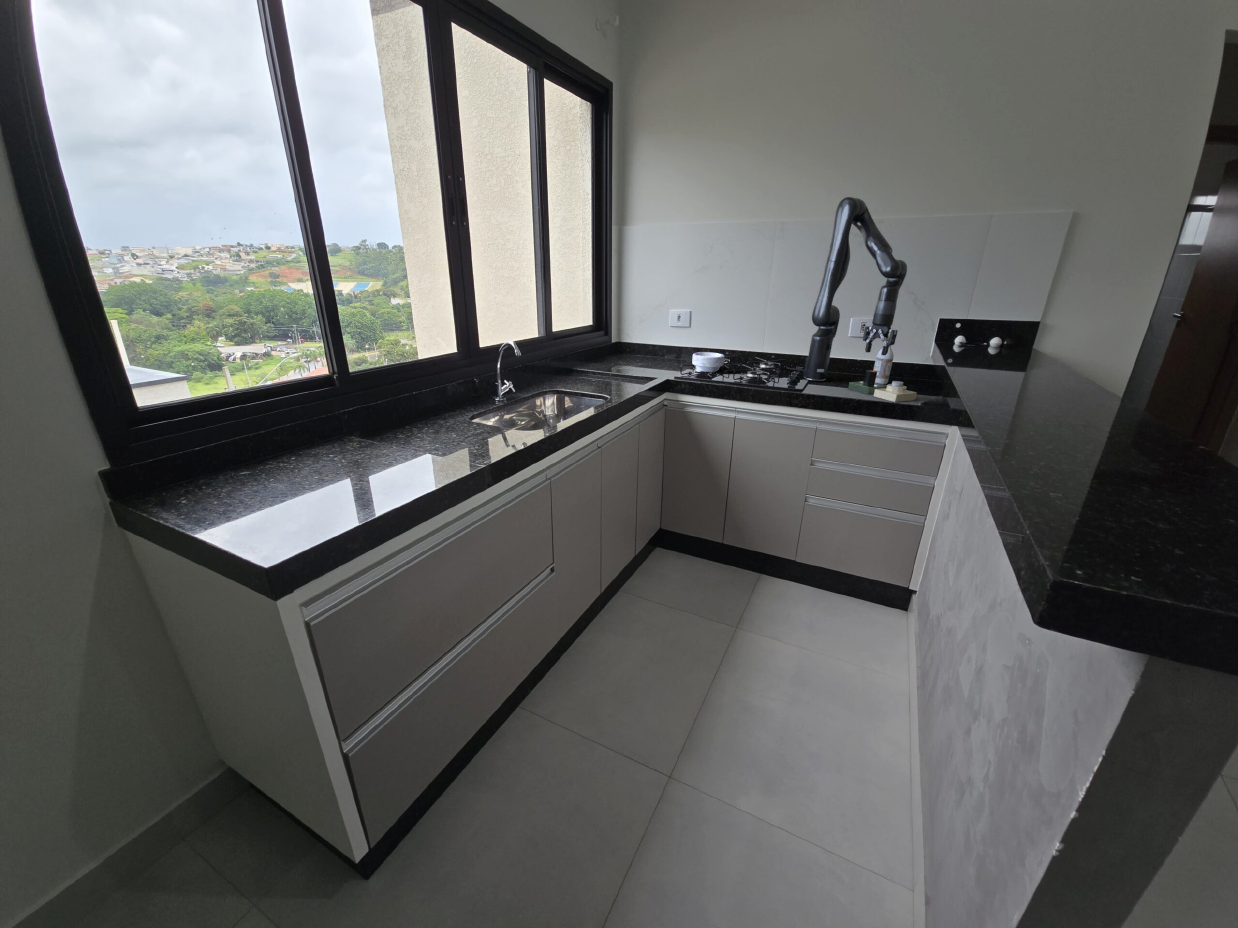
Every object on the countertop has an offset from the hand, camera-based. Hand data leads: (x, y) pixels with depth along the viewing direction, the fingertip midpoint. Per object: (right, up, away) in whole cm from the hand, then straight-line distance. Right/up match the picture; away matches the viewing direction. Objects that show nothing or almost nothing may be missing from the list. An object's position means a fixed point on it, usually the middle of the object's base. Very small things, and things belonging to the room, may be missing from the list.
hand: (875, 353), depth 211 cm
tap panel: (-1, -15, +6) cm, 16 cm away
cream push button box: (+5, -19, -5) cm, 20 cm away
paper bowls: (-64, -1, +36) cm, 73 cm away
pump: (+5, -15, -7) cm, 17 cm away
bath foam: (+14, -9, +24) cm, 29 cm away
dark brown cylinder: (0, -12, +5) cm, 13 cm away
